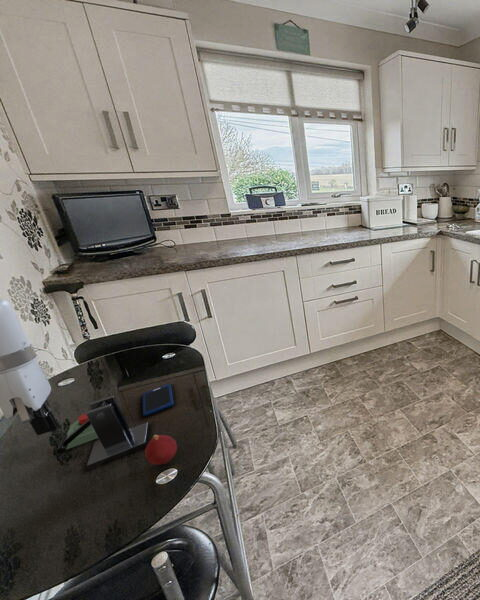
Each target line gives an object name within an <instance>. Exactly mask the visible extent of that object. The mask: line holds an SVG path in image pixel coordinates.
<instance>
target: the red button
mask: <svg viewBox="0 0 480 600" xmlns="http://www.w3.org/2000/svg"><path fill="white" fill-rule="evenodd" d="M77 420H78V421H79V423H80V424H81V425H83V424H84V423H85V422H86V421H87V420H88V417H87V416H86V412H85V413H84V412H83V414H81V415H79V416H78V418H77Z"/></svg>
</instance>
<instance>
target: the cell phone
mask: <svg viewBox="0 0 480 600" xmlns="http://www.w3.org/2000/svg"><path fill="white" fill-rule="evenodd" d="M174 405H175V402H174V396H173V390H172V385H171V384H170V383H167V384H165V385H162V386H159V387H156V388H154V389H151V390H148V391H145V392H143V393H142V415H143V417H149V416H150V415H151V416H152V415H153V414H156V413H158V412H160V411H163V410H166V409H168V408H171V407H173V406H174Z"/></svg>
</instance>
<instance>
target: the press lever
mask: <svg viewBox="0 0 480 600" xmlns="http://www.w3.org/2000/svg"><path fill="white" fill-rule="evenodd" d="M108 404H109V403H107V402H105V401H104V402H103V403H102V404H100V405H99V406H98V407H97V408H99V407H102V406H105V405H108ZM112 407H113V408H114V406H113V405H112ZM90 425H91V423H90V421H89V419H88V420H87V421H86V422H85V423H84V424H83V425H81V426H80V427H79V428H78V429H77V430H75V431H74V432H73V433H72V434H71V435H67V434H66V435H64V436H62V438H61V440H60V442H59V444H58V447H57V448H56V450H55V452H56V453H57V454H59V455H60V454H63V453H65V452H66V450H67V449H66V448H67V446H68V444H69V443H70V442H71V441H72V440H74V439H75V438H76V437H77V436H78V435H79V434H81V433H82V432H83V431H84V430H85V429H86V428H88V427H89V426H90Z"/></svg>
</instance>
